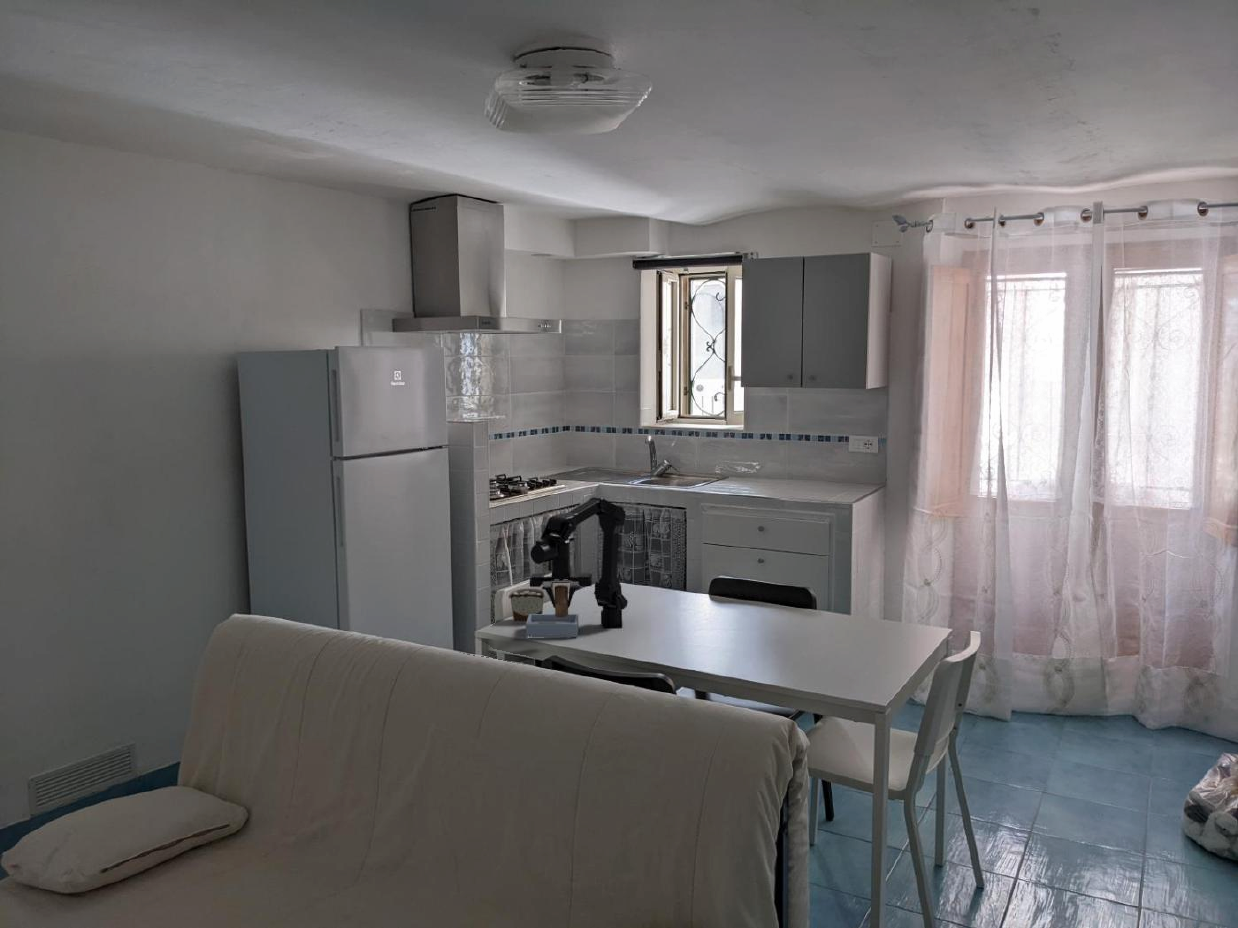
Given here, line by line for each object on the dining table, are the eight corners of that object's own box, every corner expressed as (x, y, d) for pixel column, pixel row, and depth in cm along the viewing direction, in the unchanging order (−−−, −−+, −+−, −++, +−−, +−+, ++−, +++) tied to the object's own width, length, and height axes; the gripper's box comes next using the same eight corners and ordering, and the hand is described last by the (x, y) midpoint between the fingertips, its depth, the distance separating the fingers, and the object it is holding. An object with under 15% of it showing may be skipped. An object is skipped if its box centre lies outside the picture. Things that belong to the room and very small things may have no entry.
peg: (568, 613, 293) (568, 584, 292) (567, 617, 289) (567, 588, 288) (555, 613, 293) (555, 585, 292) (554, 617, 289) (554, 588, 288)
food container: (549, 617, 321) (548, 588, 320) (545, 622, 315) (545, 593, 314) (513, 616, 322) (512, 587, 321) (509, 621, 316) (508, 592, 315)
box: (578, 627, 310) (578, 613, 309) (576, 637, 299) (576, 624, 298) (529, 627, 310) (529, 614, 309) (526, 638, 299) (525, 624, 298)
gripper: (592, 551, 296) (593, 599, 299) (532, 551, 297) (533, 600, 299) (591, 559, 285) (591, 609, 288) (528, 560, 286) (530, 610, 288)
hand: (561, 607), depth 291 cm, fingers closed on peg, 4 cm apart
